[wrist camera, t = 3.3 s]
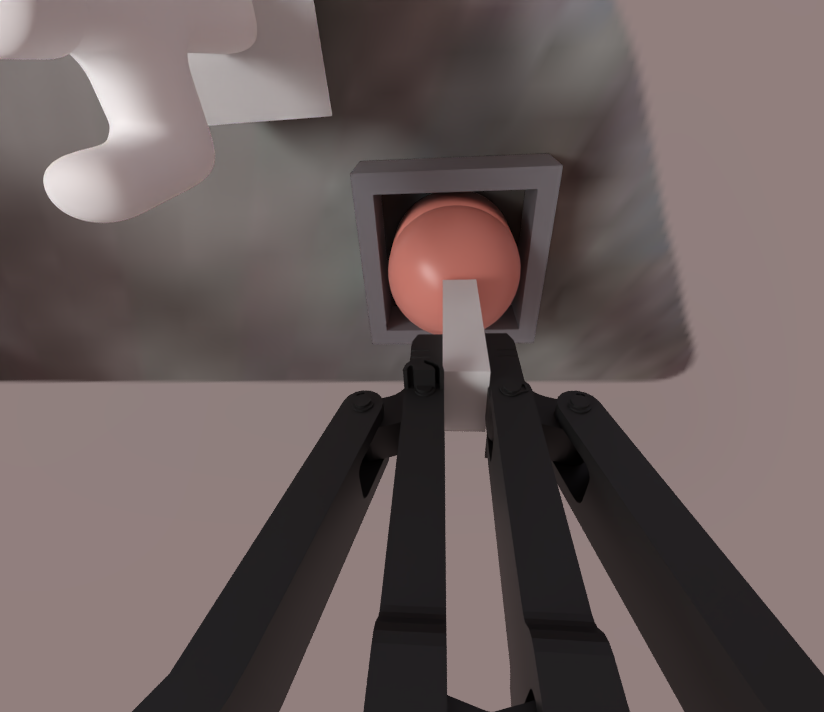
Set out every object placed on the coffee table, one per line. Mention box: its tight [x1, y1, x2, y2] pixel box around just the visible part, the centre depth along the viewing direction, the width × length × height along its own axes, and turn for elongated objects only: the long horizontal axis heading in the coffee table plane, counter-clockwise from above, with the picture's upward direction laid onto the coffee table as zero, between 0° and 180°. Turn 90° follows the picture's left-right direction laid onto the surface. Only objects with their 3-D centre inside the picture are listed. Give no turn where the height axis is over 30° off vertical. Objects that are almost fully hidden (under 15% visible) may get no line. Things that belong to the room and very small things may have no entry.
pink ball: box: [388, 191, 521, 334], centre depth 21 cm, size 7×7×7 cm
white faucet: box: [0, 0, 332, 223], centre depth 12 cm, size 7×9×15 cm
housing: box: [350, 153, 563, 344], centre depth 23 cm, size 10×10×3 cm
